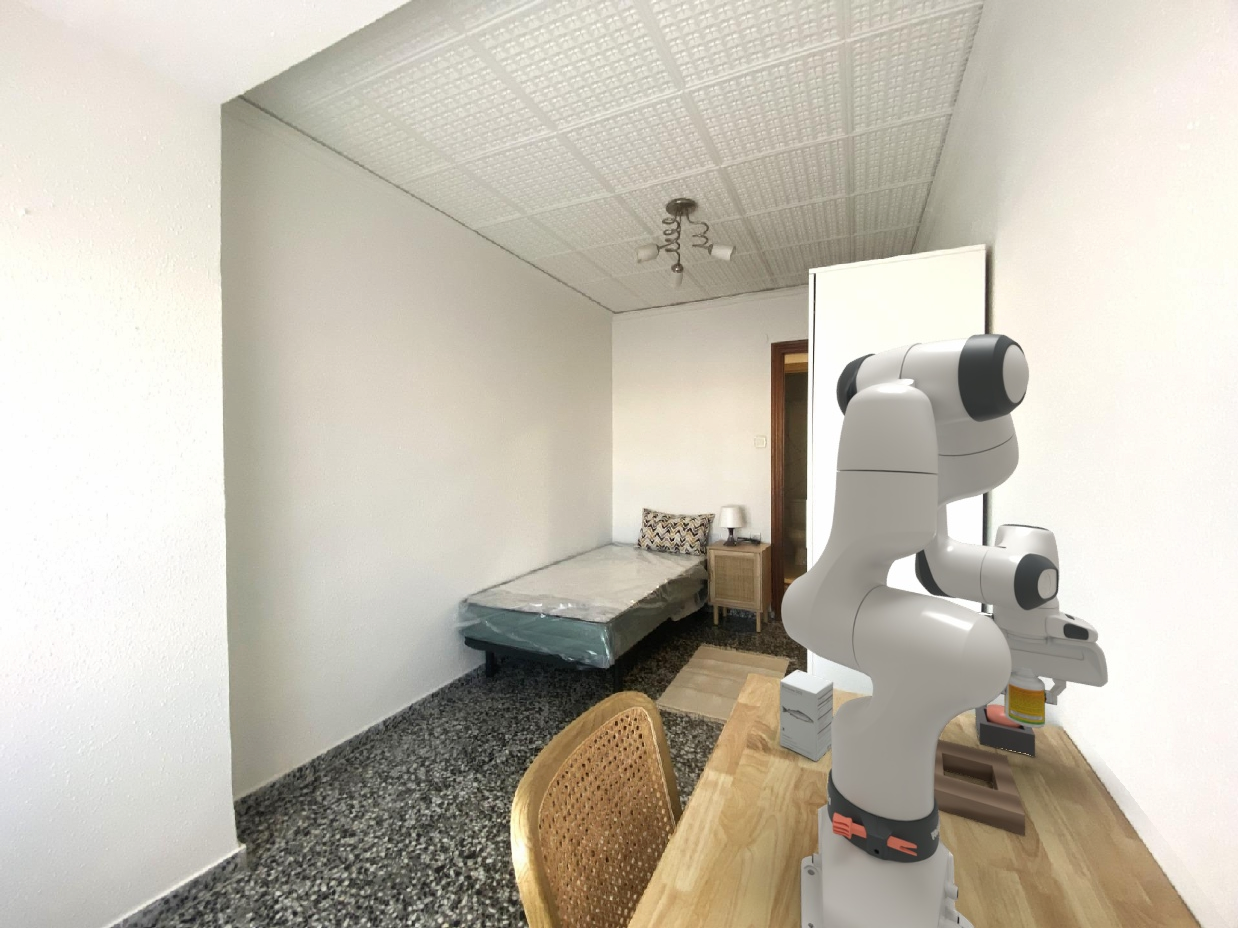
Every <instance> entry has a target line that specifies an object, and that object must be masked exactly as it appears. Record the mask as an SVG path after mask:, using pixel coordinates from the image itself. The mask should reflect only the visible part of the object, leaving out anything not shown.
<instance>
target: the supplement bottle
mask: <svg viewBox="0 0 1238 928" xmlns="http://www.w3.org/2000/svg"><path fill="white" fill-rule="evenodd" d="M1039 677H1040V676H1035V675H1034V674H1033V672H1032V670H1031V669H1028V668H1021V670H1020V672H1013V671H1011V675H1010V678H1009V681H1008V683H1007V685H1006V690H1005V692H1006V695H1003V696H1004V704H1003V706H1004V712H1005V716H1006V717H1007V718H1008V719H1009V720H1011V721H1013V722H1015V723H1017V724H1019V725H1022V726H1026V727H1031V728H1032V729H1041V728H1044V727H1045V726H1046V703H1045V690H1046V685H1045V682H1044V681H1043V680H1042V679H1041V678H1039Z"/></svg>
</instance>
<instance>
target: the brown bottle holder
mask: <svg viewBox="0 0 1238 928" xmlns="http://www.w3.org/2000/svg"><path fill="white" fill-rule="evenodd" d="M944 772H948V773H953V774H956V775H960V776H963V777H968V778H972V779H975V780H979V781H982V782H986V783H990V784H992V787H993V788H991V787H987V786H984V785H980V784H976V783H972V782H969V781H966V780H965V781H964V780H961V779H958V778H955V777H951V776H947V775H944ZM934 796H935V798H936V800H937V803H938V811H942V812H947V813H950V814H952V815H956V816H960V817H962V818H966V819H968V820H969V819H970V820H972V821H975V822H979V823H982V824H985V825H988V826H992V827H995V828H998V829H1002V830H1005V831H1007V832H1011V833H1013V834H1014V833H1015V834H1017V835H1020V836H1024V837H1026V814H1025V810H1024V808H1023V804H1022V800H1021V797H1020V793H1019V791H1018V788H1017V785H1016V780H1015V778H1014V775H1013V770H1012V768H1011V765H1010V762H1009V758H1008V755H1005V754H1001V753H996V752H992V751H990V750H986V749H985V750H984V749H981V748H976V747H972V746H969V745H965V744H960V743H956V742H953V741H949V740H944V739H940V738H939V740H938V743H937V748H936V758H935V772H934Z"/></svg>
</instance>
